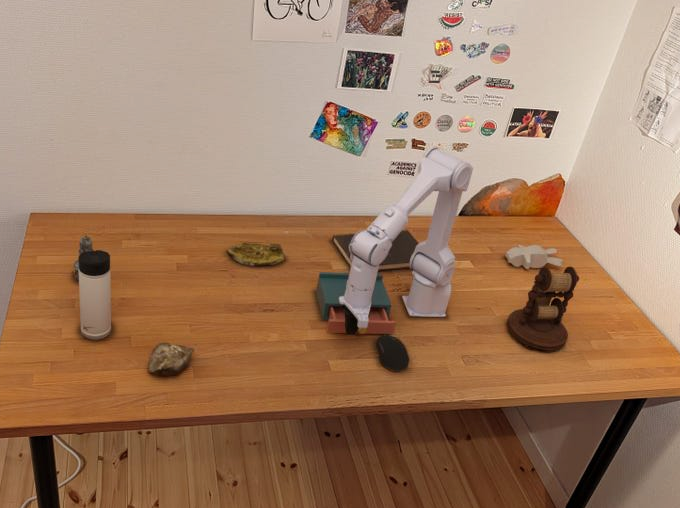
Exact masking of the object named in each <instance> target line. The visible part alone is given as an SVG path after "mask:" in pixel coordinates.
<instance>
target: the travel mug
mask: <svg viewBox="0 0 680 508" xmlns="http://www.w3.org/2000/svg"><path fill="white" fill-rule="evenodd" d="M77 260H79V282H78V290H79V293H78V295H79V311H80V312H79V319H80V333H81V335H82V337H84V338H85V339H88V340H91V341H99V340H102V339H105V338H106V337H108V336H109V335H110V334H111V332H112V300H111V299H112V287H111V285H112V283H111V273H112V272H111V255H110V253H109V252H107V251H106V250H100V249H95V250H94V251H89V252H87V251H86V252H83V253H81V254H80V255H79V254H78V259H77Z"/></svg>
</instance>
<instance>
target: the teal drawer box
mask: <svg viewBox="0 0 680 508" xmlns="http://www.w3.org/2000/svg"><path fill="white" fill-rule="evenodd" d="M349 274H350V272H330V271H329V272H328V271H327V272H326V271H320V272H319V274H318V279H317V285H316V290H315V294H316V298H317V301H318V305H319V310H320V315H321V319H322V321H329V315H328V311H329V306H342V304H340V302H339V297H340V296H344V294H345V291H346V284H347V280H348V279H349ZM383 278H384V275H383V274H382V273H381V274H380V273H379V274H378V273H377V277H376V281H375V285H374V290H373V294H372V298H371V307H384V309H385V311H386V314H387V317H388V318H389V317H390V313H391V308H392V302H391V299H390V297H389V294H388V291H387V289H386V286H385V283H384V281H383V280H384V279H383Z"/></svg>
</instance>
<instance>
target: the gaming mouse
mask: <svg viewBox="0 0 680 508" xmlns="http://www.w3.org/2000/svg"><path fill="white" fill-rule="evenodd" d="M375 344H376V349H377V353H378V357H379V361H380V364H382V366H383V367H384V368H386V369H388V370H391V371H394V372H403V371H405V370H406V369H408V368H409V363H410V358H409V354H408V350H407V347H406V346H405V344H404V343H403V341H402V340H401V339H399V338H398V337H395V336H393V334H382V335H381V336H379V337H377V340H376V342H375Z"/></svg>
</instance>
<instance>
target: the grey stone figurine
mask: <svg viewBox="0 0 680 508" xmlns="http://www.w3.org/2000/svg"><path fill="white" fill-rule="evenodd" d="M78 242H79V249H78V251H77V253H78V256H79V255H80V254H81V253H83V252H86V251H87V252H89V251H95V250H94V248H93V240H92V238H91V237H89V236H88V235H87V234H85V235H84V236H83V237H81V238H80V239H79V241H78ZM72 267H73V269H74V270H75V273H76V274H75V276H74V279H75V281H76V282H77V283H79V260H78V259H77V260H75V261H74V263H73V266H72Z"/></svg>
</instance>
